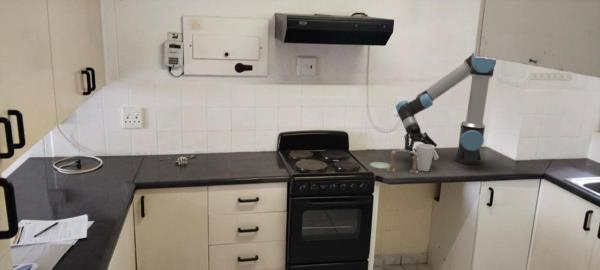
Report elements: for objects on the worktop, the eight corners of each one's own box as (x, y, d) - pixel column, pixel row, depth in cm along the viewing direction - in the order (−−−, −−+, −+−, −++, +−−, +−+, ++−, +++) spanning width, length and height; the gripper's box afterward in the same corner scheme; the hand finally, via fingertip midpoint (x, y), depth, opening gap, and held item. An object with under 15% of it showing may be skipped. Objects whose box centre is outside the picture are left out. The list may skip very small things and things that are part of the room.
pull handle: (415, 169, 264) (417, 150, 261) (418, 173, 257) (420, 153, 254) (386, 167, 265) (388, 148, 262) (388, 171, 258) (389, 151, 255)
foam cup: (434, 172, 260) (436, 148, 257) (416, 171, 260) (418, 147, 257) (429, 167, 270) (432, 144, 267) (412, 166, 270) (415, 143, 267)
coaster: (389, 163, 273) (389, 162, 273) (391, 169, 262) (391, 168, 262) (369, 162, 274) (369, 161, 273) (370, 168, 263) (370, 167, 263)
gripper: (425, 128, 280) (441, 161, 270) (389, 131, 269) (404, 165, 259) (433, 121, 274) (448, 154, 264) (396, 124, 263) (411, 158, 254)
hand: (426, 160), depth 262 cm, fingers open, 13 cm apart
